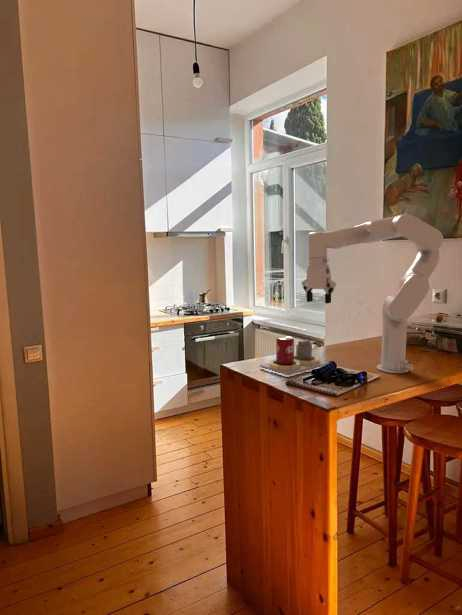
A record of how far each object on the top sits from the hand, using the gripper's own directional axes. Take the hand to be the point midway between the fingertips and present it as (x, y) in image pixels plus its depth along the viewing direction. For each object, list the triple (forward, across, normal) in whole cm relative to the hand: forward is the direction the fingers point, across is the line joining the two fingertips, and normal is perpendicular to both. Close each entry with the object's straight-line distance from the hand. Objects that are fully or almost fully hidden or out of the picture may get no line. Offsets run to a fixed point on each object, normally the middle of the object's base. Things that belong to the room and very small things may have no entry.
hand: (318, 302), depth 193 cm
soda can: (+26, +6, +16) cm, 31 cm away
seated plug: (+26, +6, +4) cm, 27 cm away
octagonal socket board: (+28, +6, +10) cm, 30 cm away
